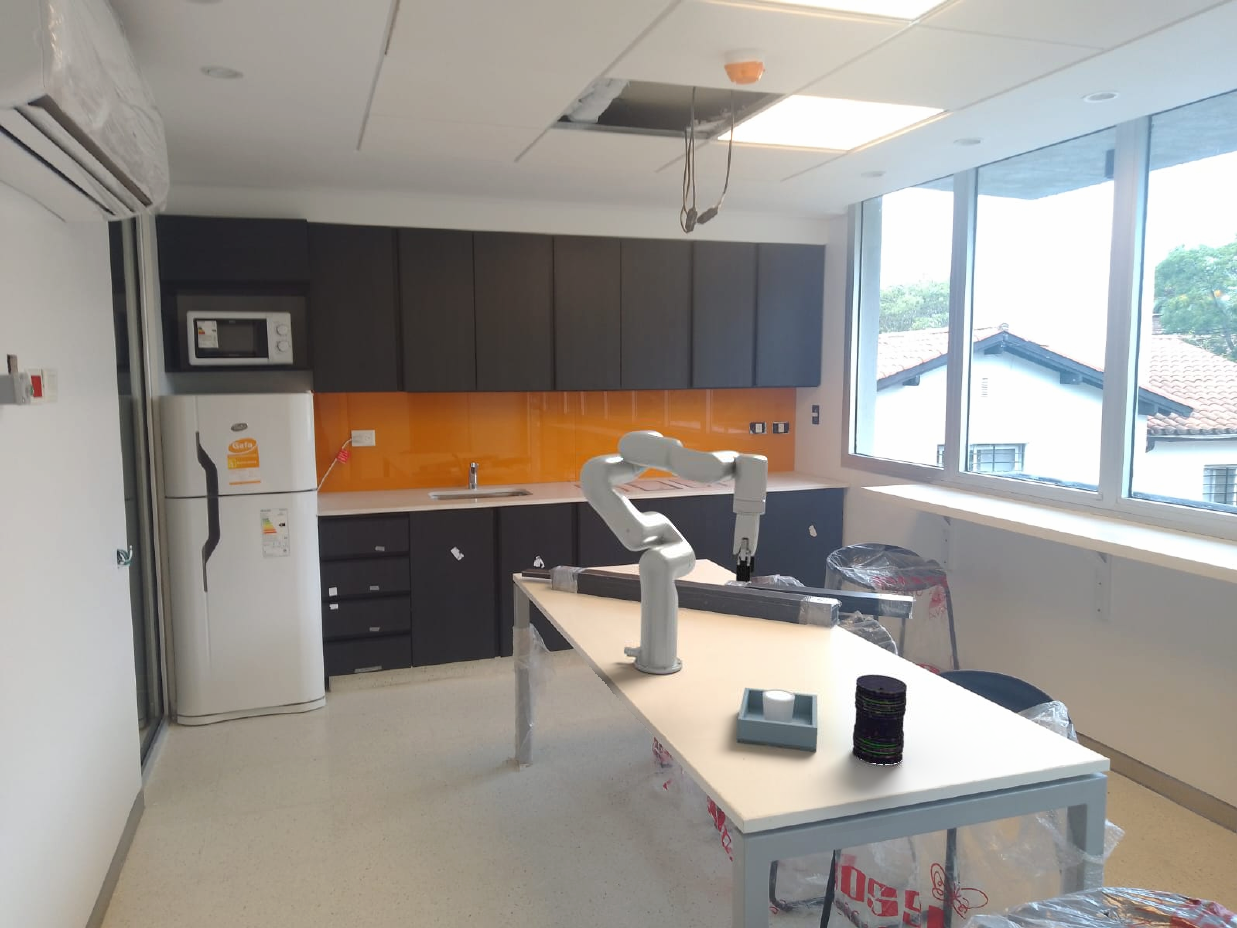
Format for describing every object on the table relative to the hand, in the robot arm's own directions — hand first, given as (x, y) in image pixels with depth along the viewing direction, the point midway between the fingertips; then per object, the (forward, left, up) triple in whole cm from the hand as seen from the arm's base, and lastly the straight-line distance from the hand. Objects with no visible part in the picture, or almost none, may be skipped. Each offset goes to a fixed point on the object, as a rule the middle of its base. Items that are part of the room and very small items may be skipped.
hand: (744, 576), depth 199 cm
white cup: (+10, -22, -27) cm, 36 cm away
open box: (+10, -22, -28) cm, 37 cm away
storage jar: (+30, -29, -28) cm, 50 cm away
